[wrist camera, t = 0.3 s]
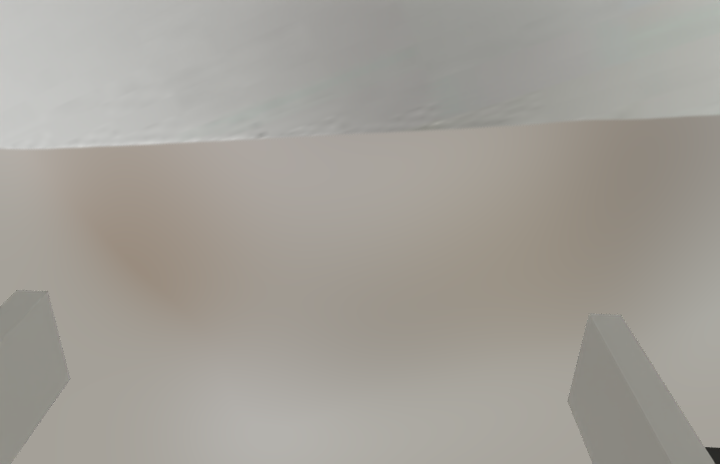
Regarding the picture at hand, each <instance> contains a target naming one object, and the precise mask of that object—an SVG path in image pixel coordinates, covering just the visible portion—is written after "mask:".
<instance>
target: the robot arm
mask: <svg viewBox="0 0 720 464" xmlns="http://www.w3.org/2000/svg"><path fill="white" fill-rule="evenodd" d="M69 380H70V376H69V372H68V368H67V364H66V360H65V356H64V353H63V348H62V345H61V340H60V336H59V333H58V329H57V325H56V321H55V317H54V313H53V309H52V305H51V301H50V298H49V294H48V291H28V290H16V291H15V292H14V293H13V294H12V295H11V296H10V297H9V298H8V299H7V300H6V301H5V302H4V303H3V304H2V305H1V306H0V464H11V463H12V461H13V460H14V458H15V457H16V456H17V454H18V453H19V451H20V450H21V449H22V447H23V446H24V444H25V443H26V442H27V440H28V439H29V437H30V436H31V434H32V433H33V432H34V430H35V429H36V427H37V426H38V424H39V423H40V422H41V420H42V419H43V417H44V416H45V414H46V413H47V411H48V410H49V408H50V407H51V406H52V404H53V403H54V402H55V400H56V399H57V397H58V396H59V394H60V393H61V392H62V390H63V389H64V387H65V386H66V384H67V383H68V381H69ZM568 403H569V406H570V408H571V411H572V413H573V416H574V418H575V421H576V423H577V425H578V428H579V431H580V433H581V436H582V438H583V441H584V443H585V446H586V448H587V451H588V453H589V456H590V458H591V461H592V463H593V464H720V448H710V447H704V445H703V444H702V442H701V440H700V439H699V437H698V436H697V434H696V433H695V431H694V429H693V428H692V426H691V425H690V423H689V421H688V420H687V418H686V417H685V415H684V414H683V412H682V410H681V409H680V407H679V406H678V404H677V402H676V401H675V399H674V398H673V396H672V394H671V393H670V391H669V390H668V388H667V387H666V385H665V383H664V382H663V380H662V379H661V377H660V376H659V374H658V373H657V371H656V369H655V368H654V366H653V364H652V363H651V361H650V360H649V358H648V357H647V355H646V353H645V352H644V350H643V349H642V347H641V346H640V344H639V342H638V341H637V339H636V338H635V336H634V334H633V333H632V331H631V330H630V328H629V327H628V325H627V323H626V322H625V320H624V319H623V317H622V315H611V314H589V316H588V320H587V324H586V328H585V332H584V336H583V340H582V344H581V349H580V352H579V356H578V361H577V365H576V369H575V373H574V377H573V381H572V385H571V389H570V393H569V397H568Z"/></svg>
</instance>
